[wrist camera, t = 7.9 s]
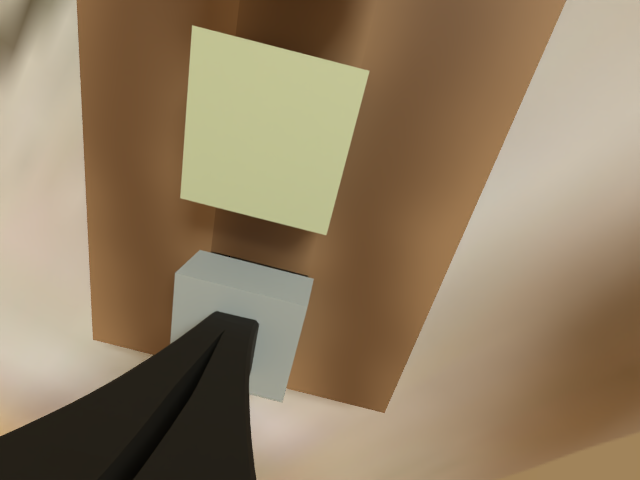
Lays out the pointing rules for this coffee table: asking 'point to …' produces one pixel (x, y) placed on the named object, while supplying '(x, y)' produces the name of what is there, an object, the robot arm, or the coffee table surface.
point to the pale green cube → (267, 129)
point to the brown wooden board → (357, 179)
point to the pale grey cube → (246, 310)
